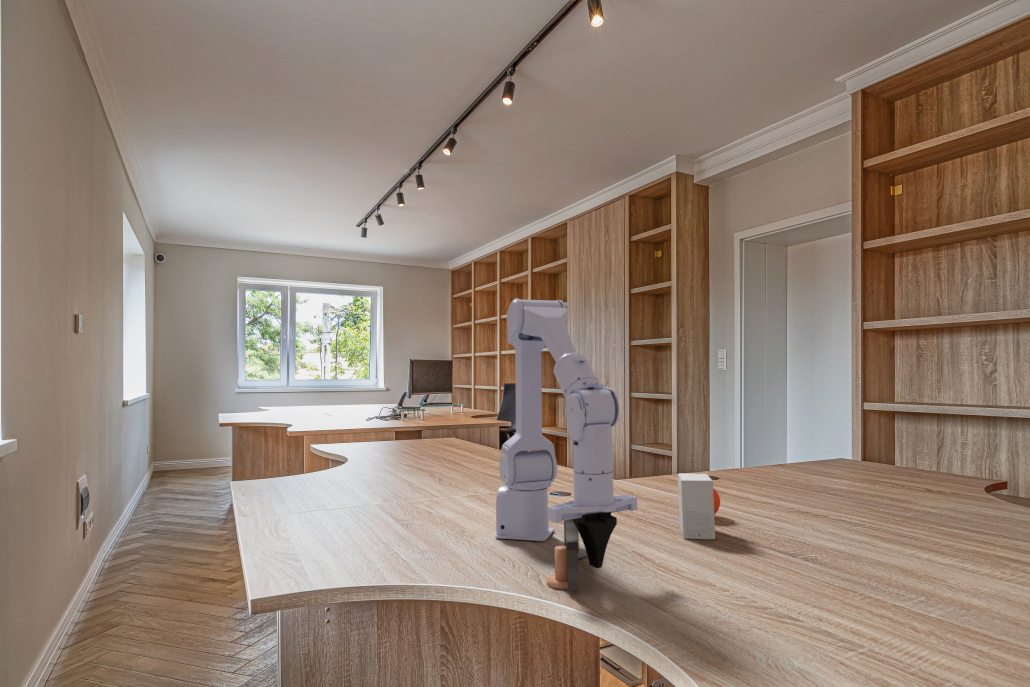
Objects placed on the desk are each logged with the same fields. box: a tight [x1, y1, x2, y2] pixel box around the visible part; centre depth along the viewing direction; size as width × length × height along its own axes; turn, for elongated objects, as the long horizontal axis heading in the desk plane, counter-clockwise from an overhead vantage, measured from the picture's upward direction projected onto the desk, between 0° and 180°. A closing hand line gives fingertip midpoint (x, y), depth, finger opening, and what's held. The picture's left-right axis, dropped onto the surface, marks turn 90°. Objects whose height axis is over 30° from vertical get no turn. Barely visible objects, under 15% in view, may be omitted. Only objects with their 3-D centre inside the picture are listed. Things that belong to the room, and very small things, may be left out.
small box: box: [677, 472, 716, 540], centre depth 106 cm, size 8×6×10 cm
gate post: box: [563, 520, 588, 561], centre depth 95 cm, size 5×5×8 cm
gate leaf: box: [566, 519, 579, 592], centre depth 85 cm, size 15×2×6 cm, turn 175°
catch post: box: [546, 545, 568, 590], centre depth 82 cm, size 4×4×5 cm
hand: (595, 566), depth 83 cm, fingers closed
